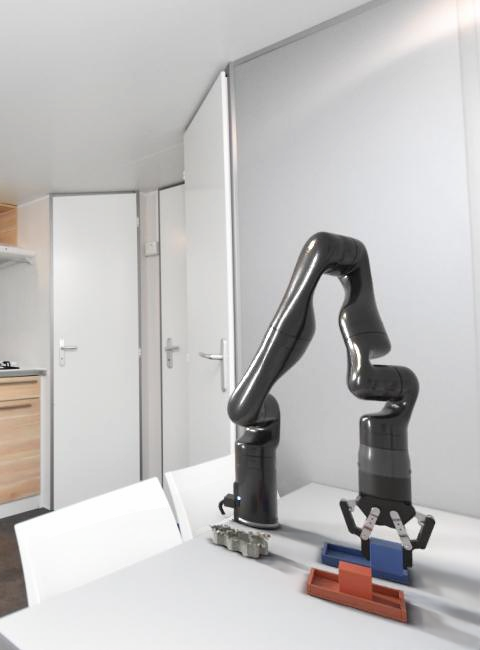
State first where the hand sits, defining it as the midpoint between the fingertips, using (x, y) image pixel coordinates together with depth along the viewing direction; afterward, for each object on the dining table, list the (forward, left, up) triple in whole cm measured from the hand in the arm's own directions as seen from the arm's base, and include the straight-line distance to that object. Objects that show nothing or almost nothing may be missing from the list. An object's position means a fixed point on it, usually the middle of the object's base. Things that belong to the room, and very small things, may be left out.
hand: (386, 563), depth 88 cm
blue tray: (-3, +9, -4) cm, 11 cm away
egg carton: (-25, +1, -5) cm, 25 cm away
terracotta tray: (-4, -9, -4) cm, 11 cm away
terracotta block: (-4, -9, -4) cm, 11 cm away
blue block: (0, 0, -1) cm, 1 cm away
